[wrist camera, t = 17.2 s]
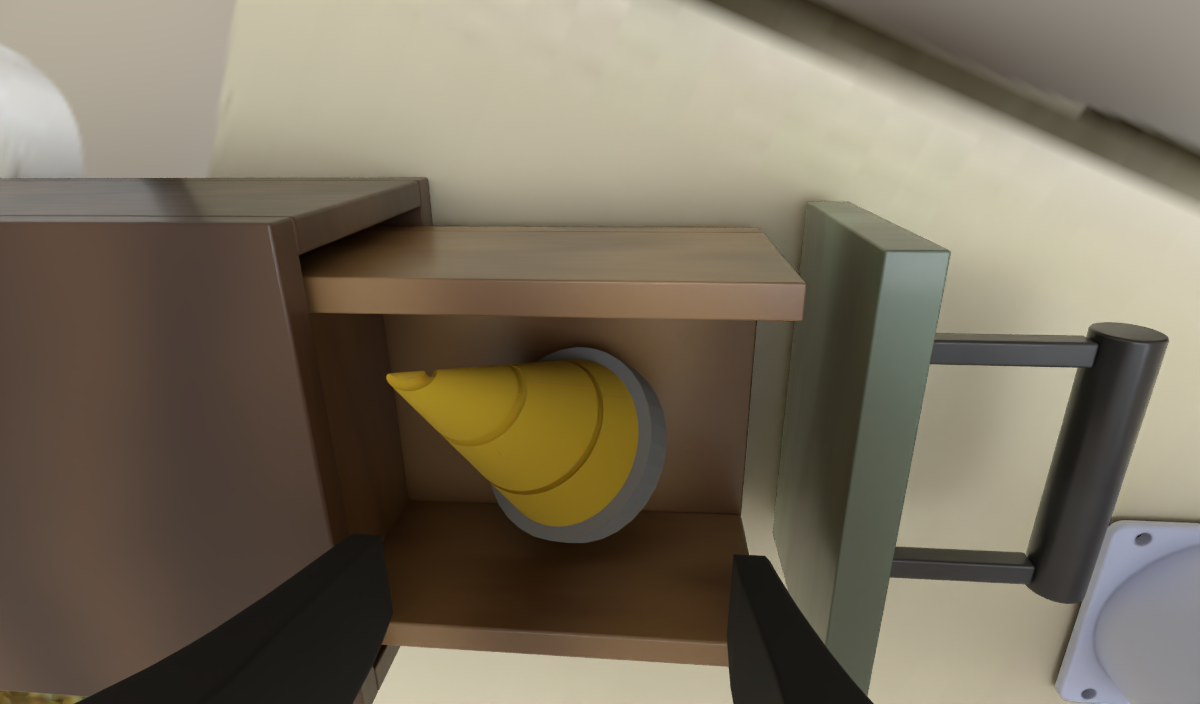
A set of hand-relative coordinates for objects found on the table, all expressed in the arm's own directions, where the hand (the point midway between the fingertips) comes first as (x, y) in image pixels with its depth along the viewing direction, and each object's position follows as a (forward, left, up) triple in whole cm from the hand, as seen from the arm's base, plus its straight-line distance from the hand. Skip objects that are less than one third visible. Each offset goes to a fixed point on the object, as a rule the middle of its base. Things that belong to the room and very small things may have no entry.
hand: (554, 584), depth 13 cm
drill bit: (+1, -1, -8) cm, 8 cm away
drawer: (-3, -1, -9) cm, 9 cm away
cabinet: (+13, -1, -10) cm, 16 cm away
